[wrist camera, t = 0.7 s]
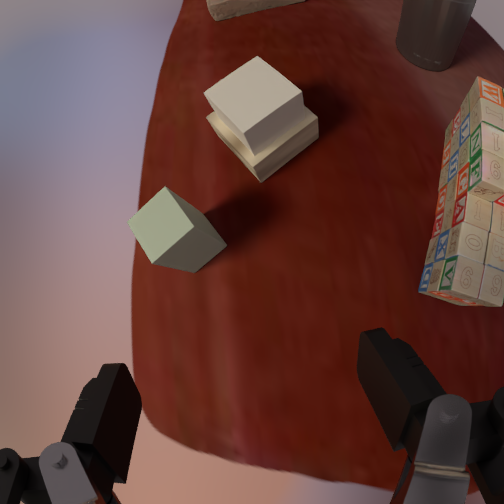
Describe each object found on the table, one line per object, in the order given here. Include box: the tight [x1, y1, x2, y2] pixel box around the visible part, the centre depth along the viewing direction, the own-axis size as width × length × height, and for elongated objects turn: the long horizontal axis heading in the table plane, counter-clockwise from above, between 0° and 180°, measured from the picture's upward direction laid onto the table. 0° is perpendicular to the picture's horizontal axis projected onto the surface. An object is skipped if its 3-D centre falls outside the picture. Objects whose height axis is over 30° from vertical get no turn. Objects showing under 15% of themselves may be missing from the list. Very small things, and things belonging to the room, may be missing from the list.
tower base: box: [206, 106, 319, 183], centre depth 35 cm, size 9×9×5 cm
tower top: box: [204, 56, 305, 156], centre depth 30 cm, size 7×7×5 cm
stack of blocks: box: [418, 76, 504, 307], centre depth 25 cm, size 21×6×12 cm, turn 161°
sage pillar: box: [127, 187, 227, 273], centre depth 32 cm, size 5×5×10 cm
